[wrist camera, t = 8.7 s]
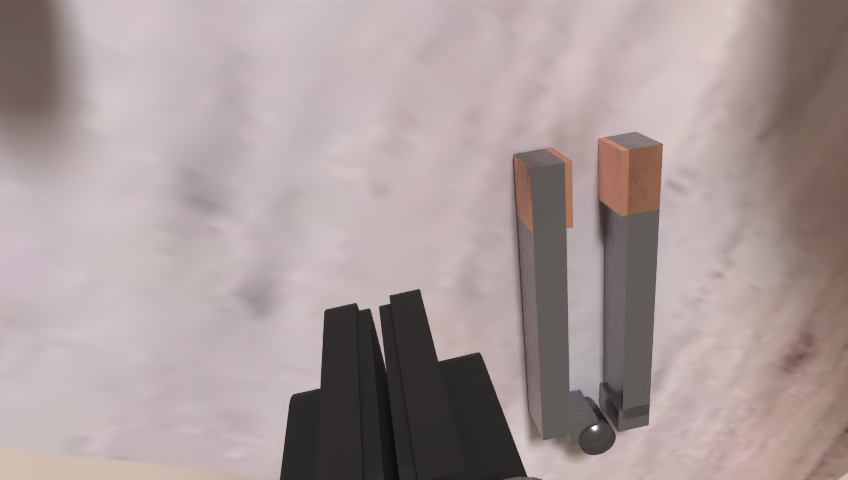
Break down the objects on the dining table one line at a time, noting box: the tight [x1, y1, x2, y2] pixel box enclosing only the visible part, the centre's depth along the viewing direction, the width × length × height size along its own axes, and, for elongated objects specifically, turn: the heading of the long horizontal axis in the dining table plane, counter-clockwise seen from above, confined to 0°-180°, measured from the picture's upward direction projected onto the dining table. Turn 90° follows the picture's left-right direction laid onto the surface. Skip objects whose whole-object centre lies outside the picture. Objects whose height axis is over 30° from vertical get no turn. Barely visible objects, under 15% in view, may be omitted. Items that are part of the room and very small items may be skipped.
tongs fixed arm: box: [599, 132, 663, 432], centre depth 37 cm, size 2×21×3 cm, turn 8°
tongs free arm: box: [514, 148, 616, 455], centre depth 37 cm, size 5×22×3 cm, turn 7°
